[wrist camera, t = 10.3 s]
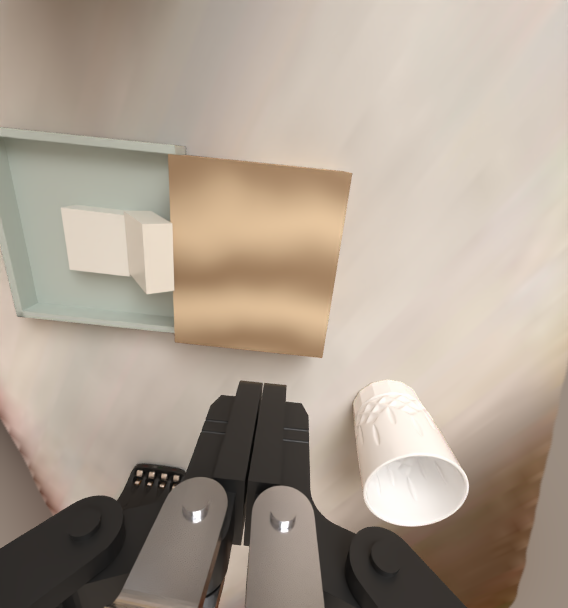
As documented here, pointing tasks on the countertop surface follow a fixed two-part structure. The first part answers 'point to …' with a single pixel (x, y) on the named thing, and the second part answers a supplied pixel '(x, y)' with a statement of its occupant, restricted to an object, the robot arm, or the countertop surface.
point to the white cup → (404, 458)
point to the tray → (50, 232)
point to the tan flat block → (254, 252)
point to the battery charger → (149, 485)
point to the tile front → (150, 251)
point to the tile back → (95, 239)
